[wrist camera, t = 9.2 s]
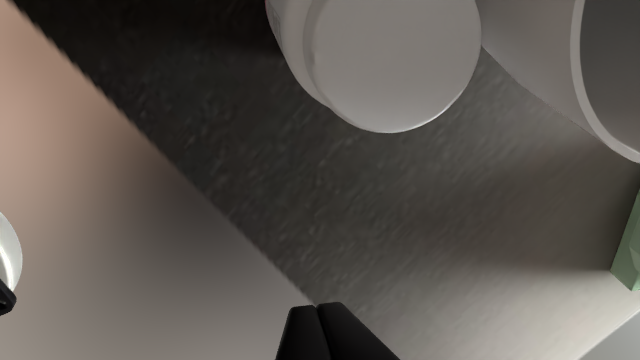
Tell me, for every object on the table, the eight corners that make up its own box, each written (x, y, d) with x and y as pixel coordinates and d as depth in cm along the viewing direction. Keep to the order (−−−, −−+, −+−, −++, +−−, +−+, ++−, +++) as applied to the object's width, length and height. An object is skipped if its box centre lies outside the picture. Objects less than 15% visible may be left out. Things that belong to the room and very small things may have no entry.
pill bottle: (357, -103, 17) (464, -115, 10) (408, 23, 20) (525, 89, 12) (237, -32, 18) (253, 7, 10) (300, 83, 20) (351, 183, 13)
